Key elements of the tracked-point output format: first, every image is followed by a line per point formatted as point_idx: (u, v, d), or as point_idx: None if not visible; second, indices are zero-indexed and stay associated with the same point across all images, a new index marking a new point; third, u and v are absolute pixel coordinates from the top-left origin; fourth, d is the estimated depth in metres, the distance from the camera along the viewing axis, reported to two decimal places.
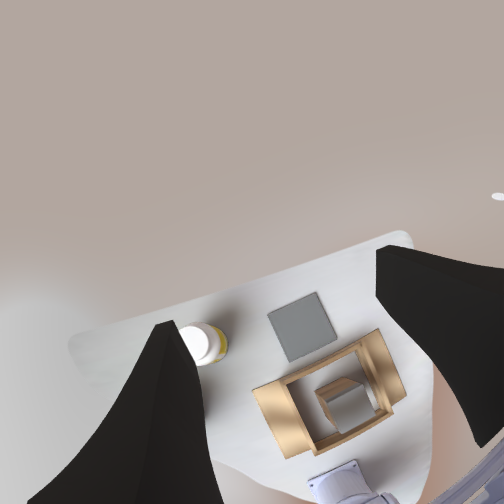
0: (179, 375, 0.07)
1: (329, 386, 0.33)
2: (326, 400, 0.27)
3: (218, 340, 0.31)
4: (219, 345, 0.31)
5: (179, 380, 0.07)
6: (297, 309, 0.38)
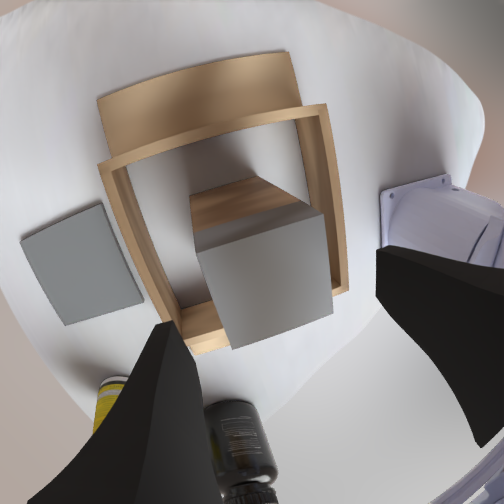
0: (179, 375, 0.07)
1: None
2: None
3: None
4: None
5: (179, 380, 0.07)
6: (49, 278, 0.16)
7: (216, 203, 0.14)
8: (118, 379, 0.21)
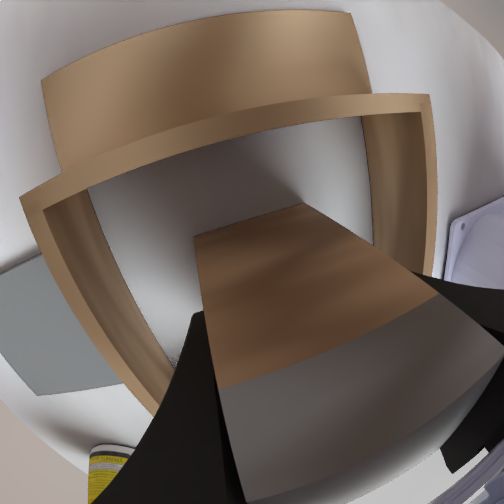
0: None
1: None
2: None
3: None
4: None
5: None
6: (6, 344, 0.09)
7: (251, 272, 0.07)
8: (111, 449, 0.14)
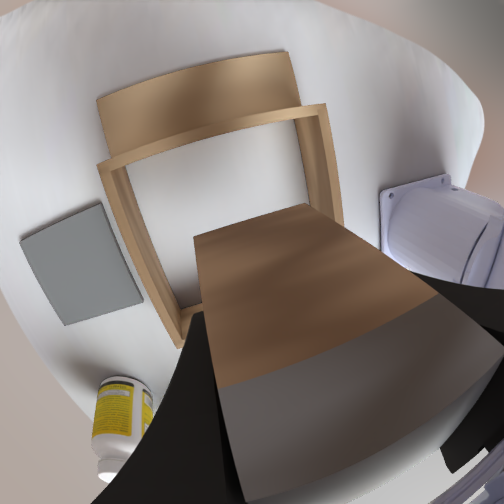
0: None
1: None
2: None
3: (110, 440, 0.15)
4: (117, 438, 0.15)
5: None
6: (49, 279, 0.16)
7: (250, 272, 0.07)
8: (118, 379, 0.21)
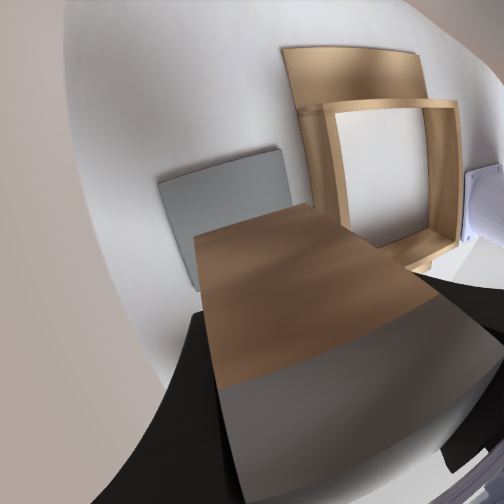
0: None
1: None
2: None
3: None
4: None
5: None
6: (193, 231, 0.17)
7: (251, 272, 0.07)
8: None
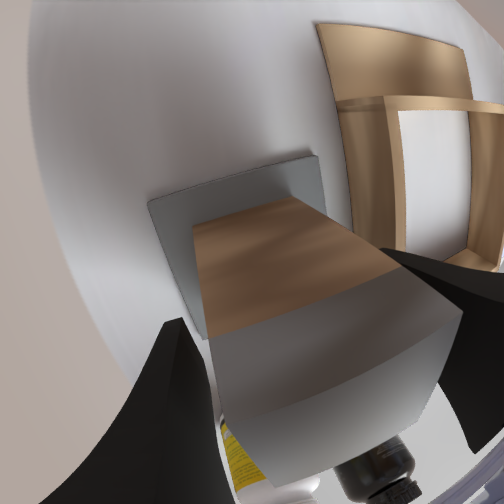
0: (189, 372, 0.07)
1: None
2: None
3: None
4: None
5: (190, 378, 0.07)
6: None
7: (241, 252, 0.08)
8: None
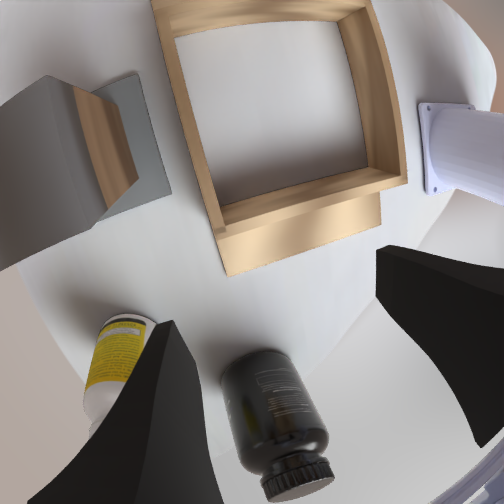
0: (179, 375, 0.07)
1: None
2: None
3: (109, 390, 0.12)
4: (119, 388, 0.12)
5: (179, 380, 0.07)
6: None
7: None
8: (125, 316, 0.17)
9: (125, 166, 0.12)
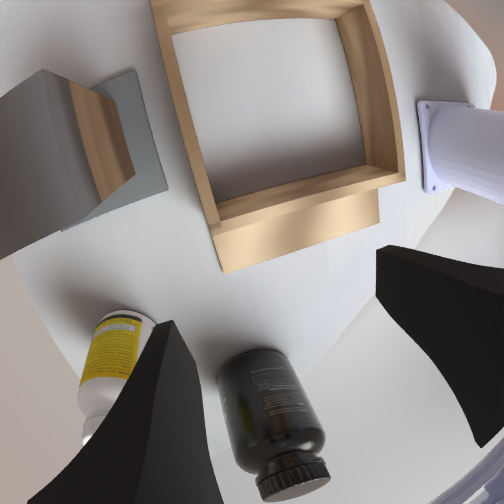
0: (179, 375, 0.07)
1: None
2: None
3: (103, 386, 0.11)
4: (113, 383, 0.12)
5: (179, 380, 0.07)
6: None
7: None
8: (121, 313, 0.17)
9: (121, 161, 0.12)
